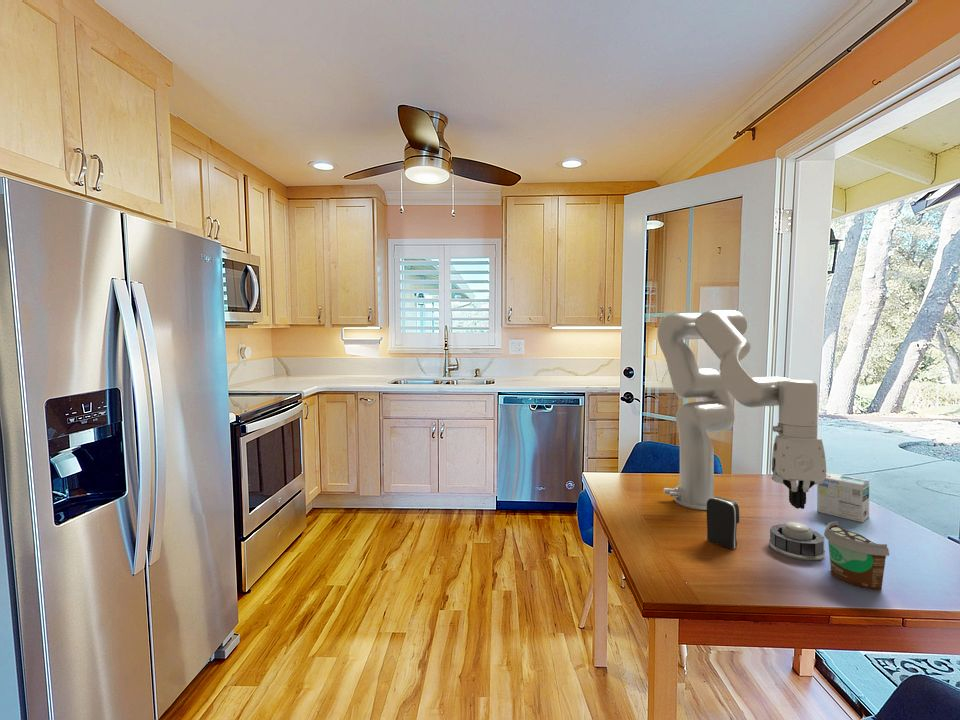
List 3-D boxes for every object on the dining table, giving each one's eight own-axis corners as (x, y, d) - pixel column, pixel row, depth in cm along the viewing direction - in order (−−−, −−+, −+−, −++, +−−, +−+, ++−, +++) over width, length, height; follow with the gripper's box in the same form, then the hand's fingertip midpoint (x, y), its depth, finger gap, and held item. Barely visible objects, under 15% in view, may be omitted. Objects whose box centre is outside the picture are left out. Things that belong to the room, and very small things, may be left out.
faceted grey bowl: (781, 559, 104) (781, 542, 104) (761, 538, 115) (761, 522, 114) (835, 562, 102) (835, 545, 101) (809, 540, 112) (810, 525, 112)
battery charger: (741, 546, 110) (741, 501, 110) (733, 551, 108) (733, 504, 108) (713, 536, 116) (713, 493, 116) (705, 540, 114) (705, 496, 114)
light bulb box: (869, 517, 126) (870, 479, 125) (863, 523, 122) (864, 484, 121) (823, 506, 134) (824, 471, 134) (816, 512, 130) (816, 475, 130)
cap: (789, 550, 106) (789, 530, 105) (777, 539, 111) (777, 519, 111) (817, 552, 104) (817, 531, 104) (804, 541, 110) (804, 521, 110)
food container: (809, 565, 101) (809, 522, 100) (834, 563, 101) (835, 520, 101) (860, 596, 89) (861, 547, 88) (888, 594, 89) (889, 545, 89)
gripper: (769, 434, 104) (769, 511, 105) (842, 435, 101) (842, 514, 102) (756, 427, 112) (756, 499, 113) (824, 428, 109) (823, 502, 110)
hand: (797, 506), depth 107 cm, fingers closed
